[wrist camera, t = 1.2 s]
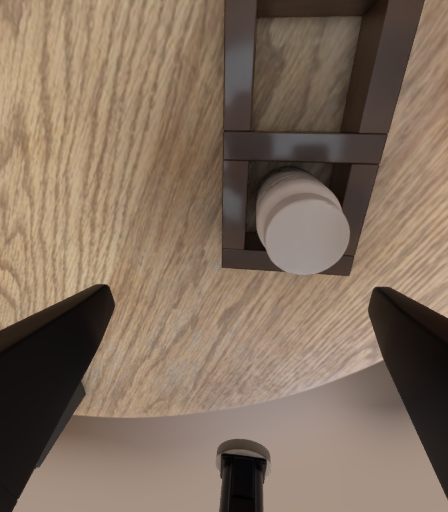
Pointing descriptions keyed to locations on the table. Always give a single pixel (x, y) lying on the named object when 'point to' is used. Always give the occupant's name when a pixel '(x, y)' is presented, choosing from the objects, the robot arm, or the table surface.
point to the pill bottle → (300, 222)
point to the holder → (307, 142)
